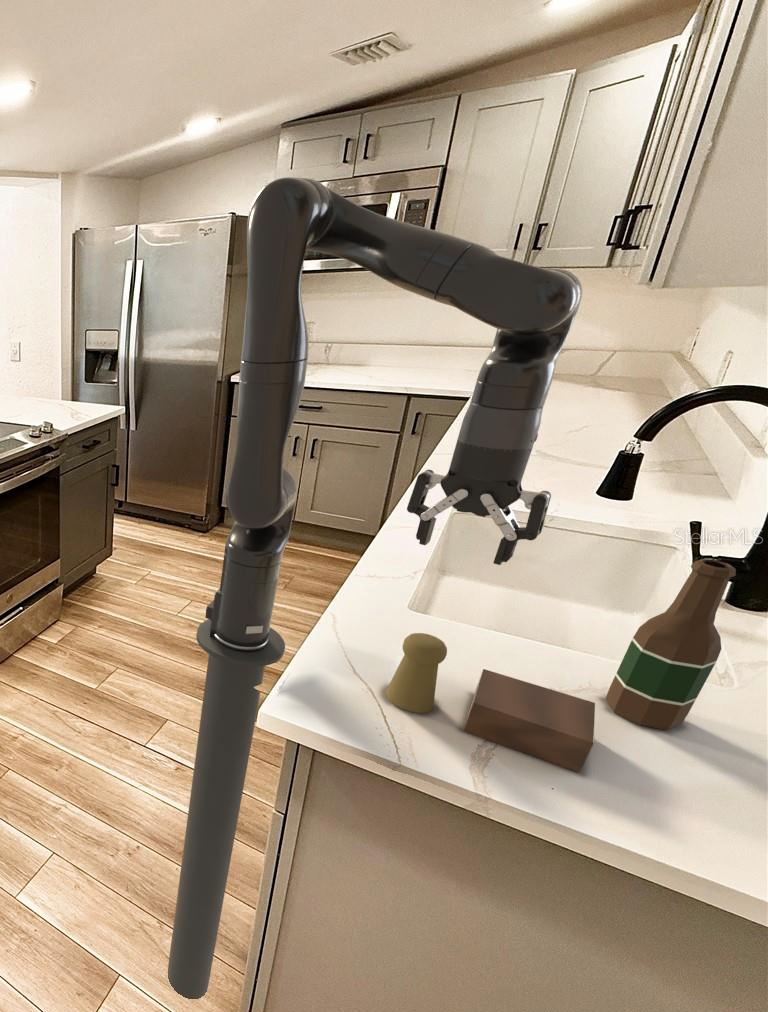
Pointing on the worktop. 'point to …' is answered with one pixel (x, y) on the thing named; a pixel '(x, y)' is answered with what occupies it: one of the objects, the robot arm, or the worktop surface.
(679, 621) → the beer bottle
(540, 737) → the walnut block
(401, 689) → the cork
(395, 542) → the worktop surface
